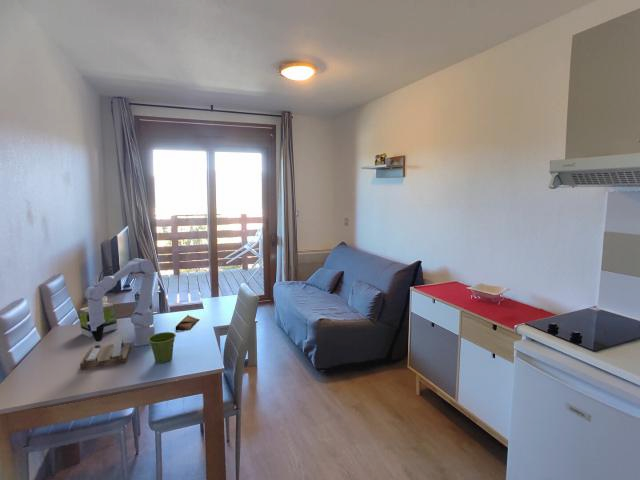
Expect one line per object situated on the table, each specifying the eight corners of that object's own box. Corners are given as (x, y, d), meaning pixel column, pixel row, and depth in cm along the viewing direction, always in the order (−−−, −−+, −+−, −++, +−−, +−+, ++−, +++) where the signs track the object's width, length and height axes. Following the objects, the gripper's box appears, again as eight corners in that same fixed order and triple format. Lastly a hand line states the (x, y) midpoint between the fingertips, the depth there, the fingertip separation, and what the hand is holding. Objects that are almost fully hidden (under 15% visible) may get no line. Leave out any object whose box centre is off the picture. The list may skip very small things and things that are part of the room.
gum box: (145, 322, 218) (142, 285, 214) (154, 321, 219) (151, 284, 216) (136, 334, 199) (133, 294, 196) (146, 333, 200) (143, 293, 197)
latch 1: (101, 348, 174) (100, 347, 173) (94, 360, 162) (94, 358, 162) (93, 349, 173) (93, 348, 172) (87, 361, 161) (86, 359, 161)
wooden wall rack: (131, 347, 182) (131, 338, 182) (126, 362, 165) (125, 353, 165) (90, 352, 176) (89, 343, 175) (80, 369, 159) (79, 359, 159)
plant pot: (150, 357, 171) (148, 334, 170) (176, 352, 176) (175, 330, 174) (149, 368, 160) (147, 344, 159) (177, 363, 165) (176, 339, 164)
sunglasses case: (190, 330, 204) (183, 320, 203) (180, 336, 204) (173, 327, 203) (200, 319, 222) (194, 310, 221) (190, 325, 222) (184, 316, 221)
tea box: (109, 325, 212) (107, 301, 210) (117, 329, 206) (115, 304, 204) (80, 333, 200) (78, 308, 198) (88, 338, 194) (86, 311, 192)
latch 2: (123, 336, 175) (122, 334, 175) (119, 356, 165) (119, 355, 165) (116, 336, 174) (115, 335, 174) (112, 357, 164) (112, 356, 164)
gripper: (90, 308, 172) (92, 335, 174) (81, 318, 158) (84, 347, 160) (107, 306, 174) (109, 333, 176) (100, 316, 160) (102, 345, 162)
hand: (98, 340), depth 168 cm, fingers closed
